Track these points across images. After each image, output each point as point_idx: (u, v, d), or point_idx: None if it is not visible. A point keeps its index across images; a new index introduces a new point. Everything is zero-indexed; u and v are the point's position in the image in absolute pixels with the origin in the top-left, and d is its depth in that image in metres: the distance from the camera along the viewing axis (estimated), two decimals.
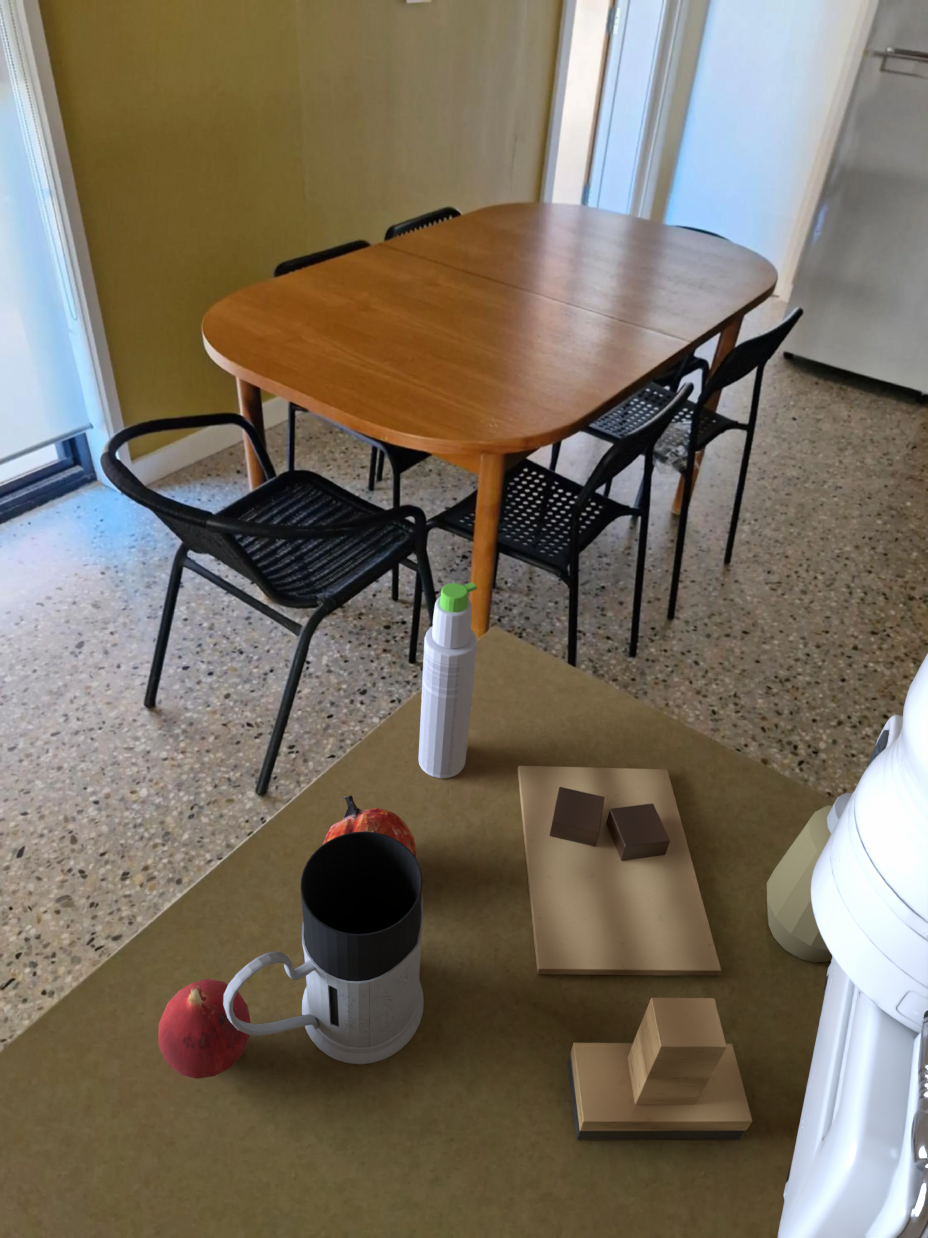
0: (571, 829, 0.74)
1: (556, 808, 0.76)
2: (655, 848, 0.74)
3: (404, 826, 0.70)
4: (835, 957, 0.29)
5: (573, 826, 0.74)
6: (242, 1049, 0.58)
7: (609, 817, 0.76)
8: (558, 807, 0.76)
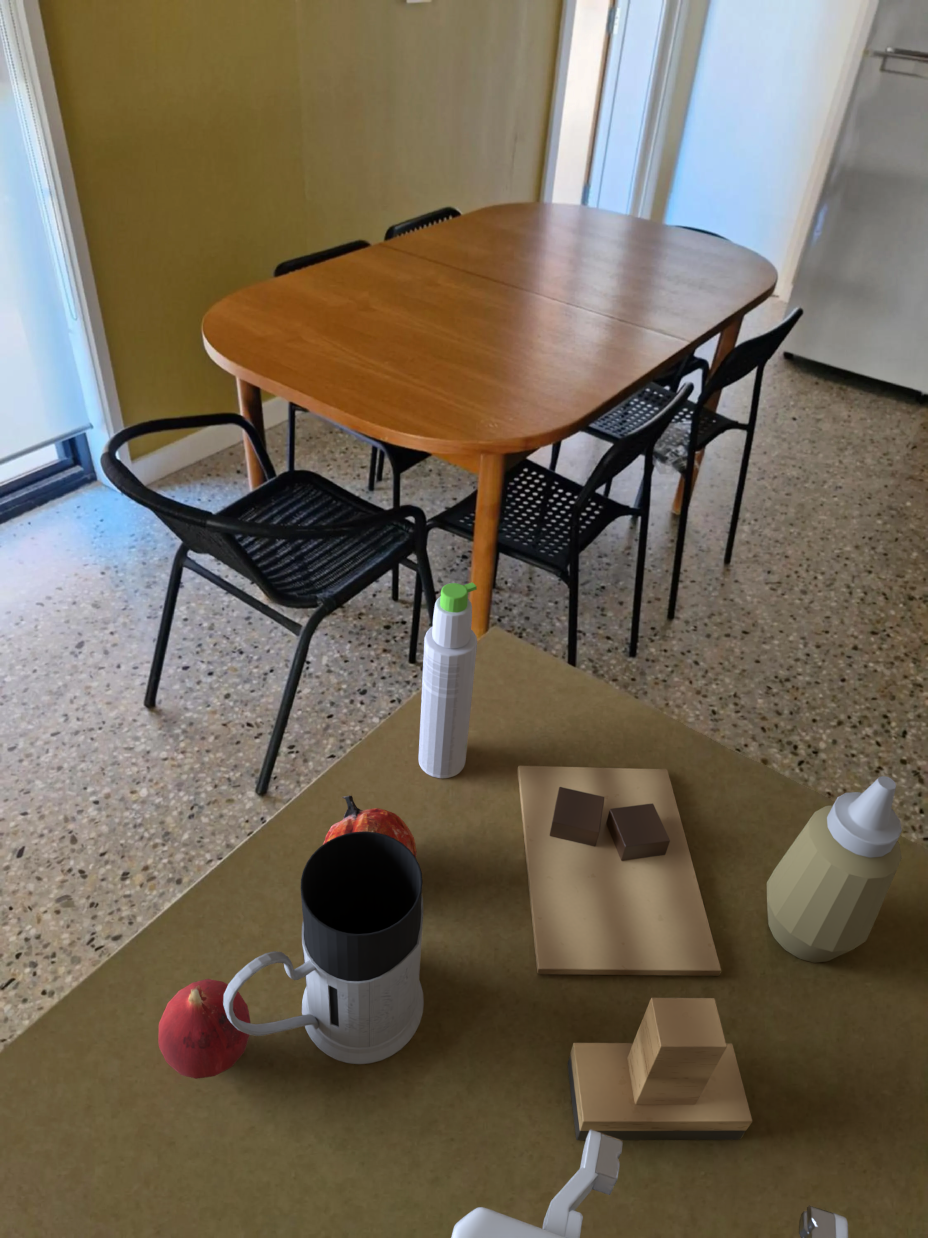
0: (571, 829, 0.74)
1: (556, 808, 0.76)
2: (655, 848, 0.74)
3: (404, 826, 0.70)
4: None
5: (573, 826, 0.74)
6: (242, 1049, 0.58)
7: (609, 817, 0.76)
8: (558, 807, 0.76)
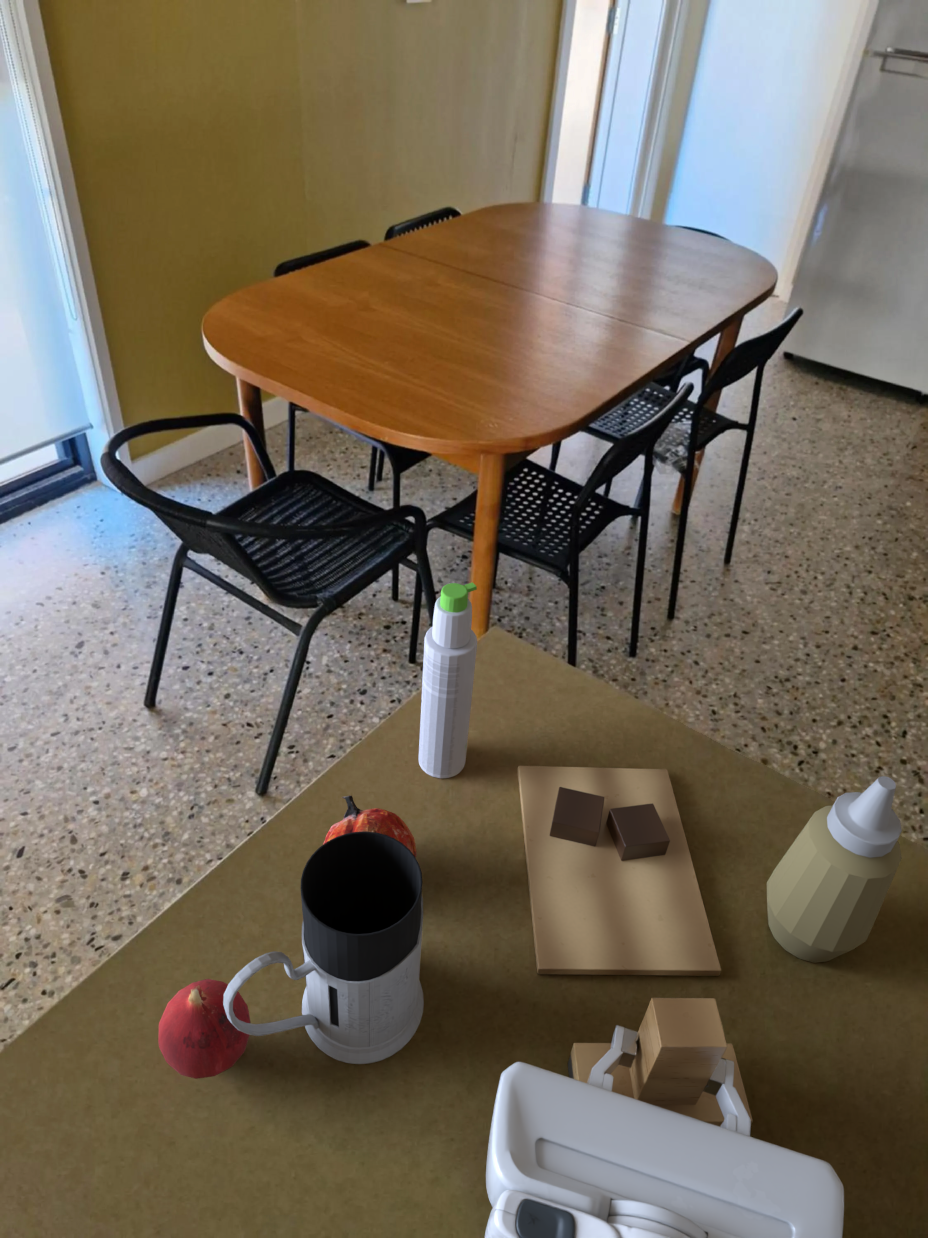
0: (571, 829, 0.74)
1: (556, 808, 0.76)
2: (655, 848, 0.74)
3: (404, 826, 0.70)
4: None
5: (573, 826, 0.74)
6: (242, 1049, 0.58)
7: (609, 817, 0.76)
8: (558, 807, 0.76)
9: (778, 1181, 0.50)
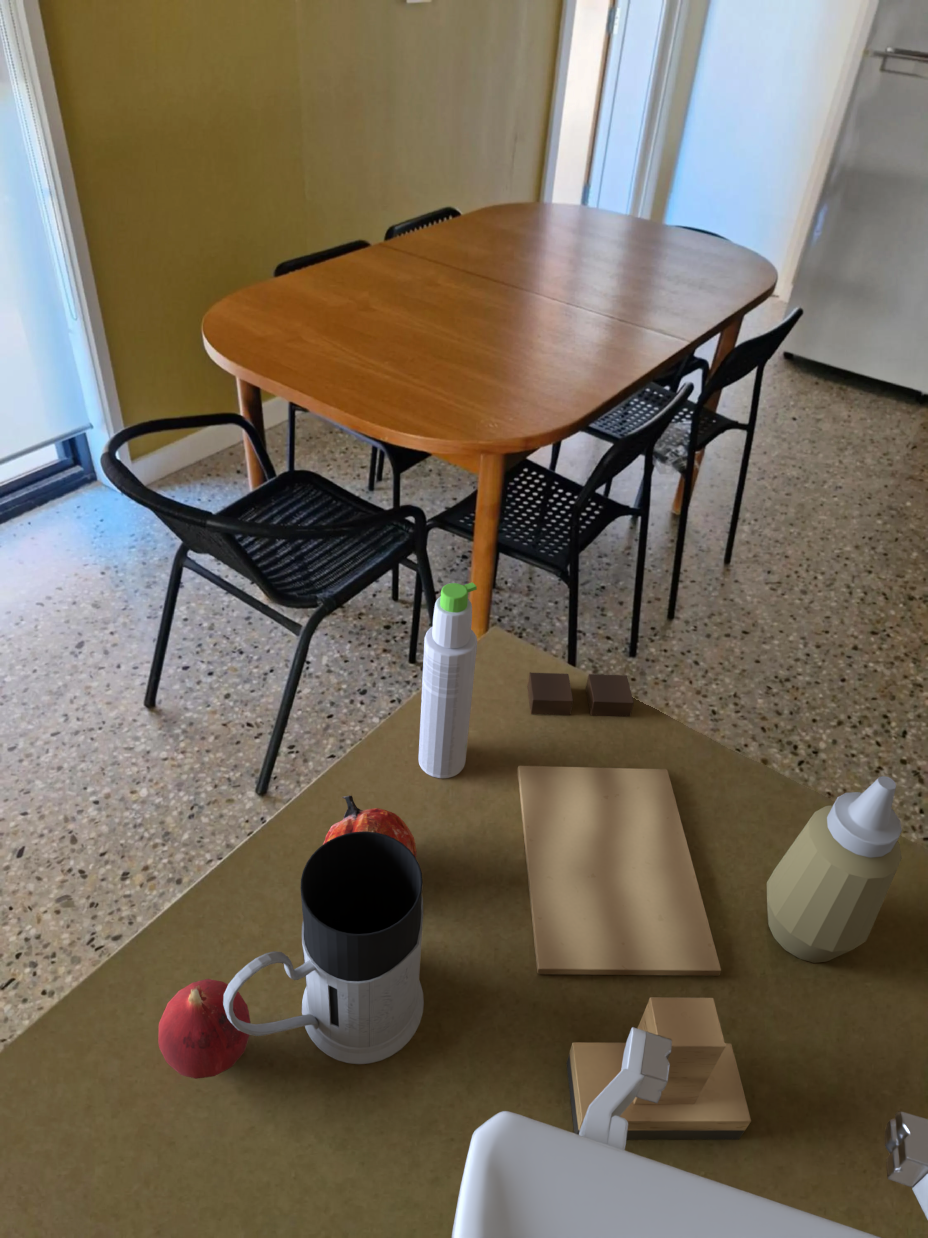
0: (550, 703, 0.87)
1: (533, 689, 0.88)
2: (620, 708, 0.88)
3: (404, 826, 0.70)
4: None
5: (550, 700, 0.87)
6: (242, 1049, 0.58)
7: (587, 681, 0.91)
8: (534, 688, 0.88)
9: None
